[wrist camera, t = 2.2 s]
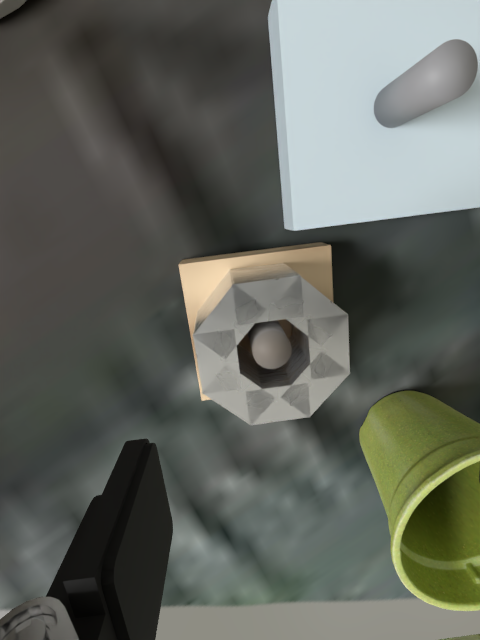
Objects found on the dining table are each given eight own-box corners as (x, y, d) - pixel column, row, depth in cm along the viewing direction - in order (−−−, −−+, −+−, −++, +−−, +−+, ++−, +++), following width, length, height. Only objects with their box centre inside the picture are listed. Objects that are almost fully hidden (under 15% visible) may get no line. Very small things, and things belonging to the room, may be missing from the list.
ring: (191, 274, 18) (184, 290, 15) (320, 257, 19) (347, 268, 15) (210, 390, 20) (208, 431, 17) (326, 374, 21) (351, 411, 17)
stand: (182, 259, 20) (169, 276, 15) (320, 242, 20) (356, 252, 15) (203, 384, 23) (198, 437, 17) (326, 368, 23) (359, 414, 17)
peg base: (267, 16, 17) (298, -104, 11) (469, -6, 17) (621, -138, 11) (284, 228, 20) (317, 236, 14) (456, 206, 20) (569, 204, 14)
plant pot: (312, 405, 24) (364, 509, 15) (444, 341, 23) (574, 415, 14) (363, 502, 26) (430, 637, 18) (482, 448, 25) (611, 562, 17)
